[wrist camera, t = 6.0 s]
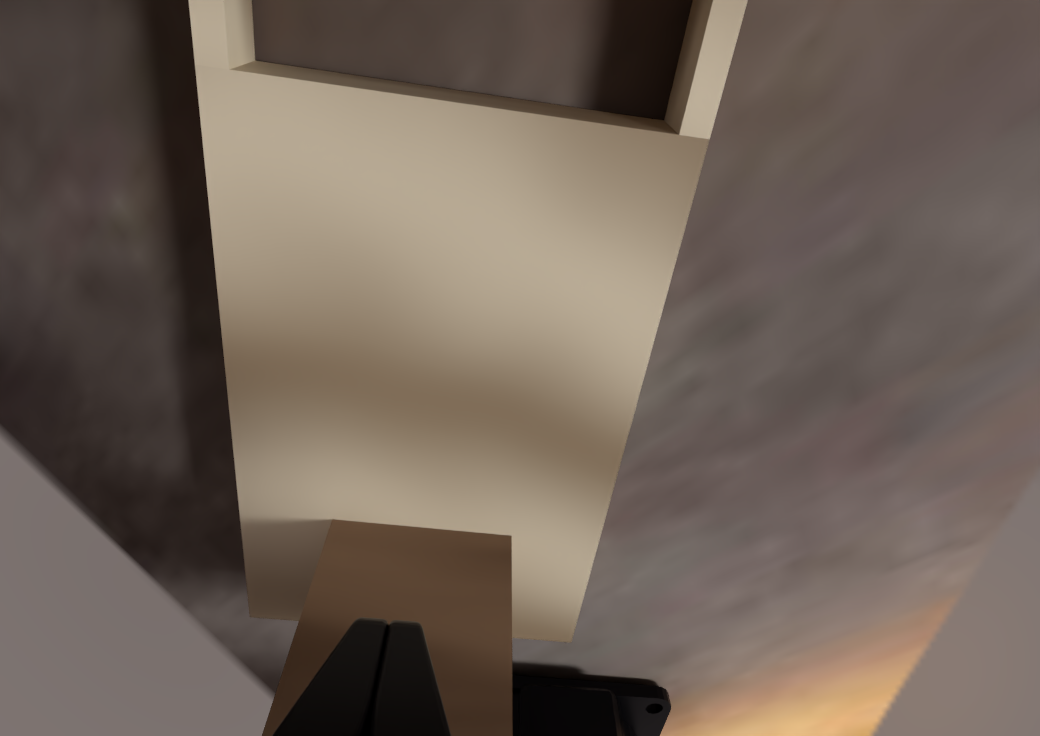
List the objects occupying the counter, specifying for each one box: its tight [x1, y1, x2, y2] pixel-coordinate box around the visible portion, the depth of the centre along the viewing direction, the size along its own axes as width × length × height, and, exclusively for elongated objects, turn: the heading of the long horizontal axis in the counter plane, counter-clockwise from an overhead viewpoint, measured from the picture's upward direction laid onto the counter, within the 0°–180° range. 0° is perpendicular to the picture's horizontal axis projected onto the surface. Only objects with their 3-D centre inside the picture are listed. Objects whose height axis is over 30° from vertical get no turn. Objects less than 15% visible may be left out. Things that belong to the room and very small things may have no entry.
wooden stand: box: [189, 0, 748, 736], centre depth 9 cm, size 21×8×7 cm, turn 172°
